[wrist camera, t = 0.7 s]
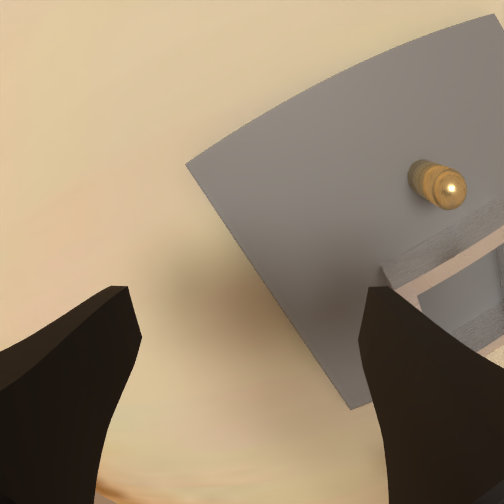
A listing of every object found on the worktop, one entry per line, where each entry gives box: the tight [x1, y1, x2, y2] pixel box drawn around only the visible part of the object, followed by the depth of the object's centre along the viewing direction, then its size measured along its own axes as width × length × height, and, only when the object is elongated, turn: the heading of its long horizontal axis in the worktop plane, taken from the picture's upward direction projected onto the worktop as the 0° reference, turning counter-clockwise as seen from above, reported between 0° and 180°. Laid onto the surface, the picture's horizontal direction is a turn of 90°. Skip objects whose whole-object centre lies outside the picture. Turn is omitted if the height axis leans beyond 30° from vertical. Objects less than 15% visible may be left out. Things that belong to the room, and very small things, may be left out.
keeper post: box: [407, 159, 467, 210], centre depth 14 cm, size 2×2×5 cm
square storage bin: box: [380, 198, 504, 357], centre depth 16 cm, size 9×9×3 cm
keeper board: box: [185, 14, 504, 410], centre depth 17 cm, size 22×22×1 cm
